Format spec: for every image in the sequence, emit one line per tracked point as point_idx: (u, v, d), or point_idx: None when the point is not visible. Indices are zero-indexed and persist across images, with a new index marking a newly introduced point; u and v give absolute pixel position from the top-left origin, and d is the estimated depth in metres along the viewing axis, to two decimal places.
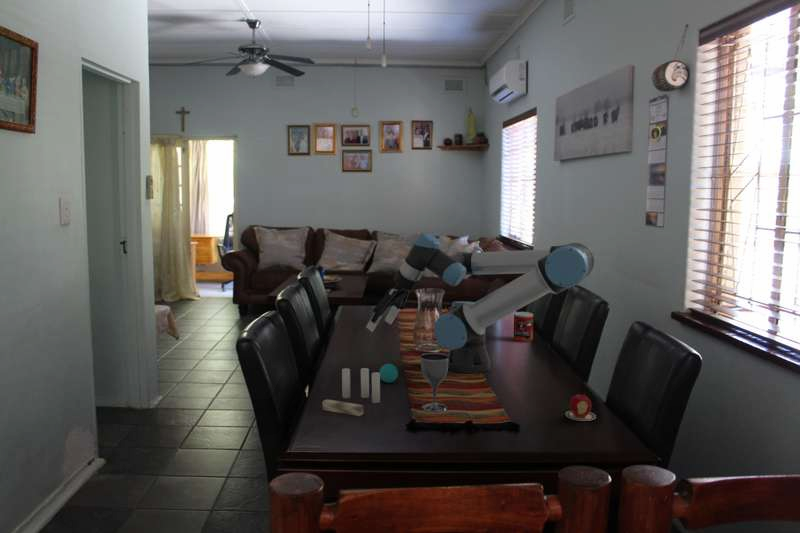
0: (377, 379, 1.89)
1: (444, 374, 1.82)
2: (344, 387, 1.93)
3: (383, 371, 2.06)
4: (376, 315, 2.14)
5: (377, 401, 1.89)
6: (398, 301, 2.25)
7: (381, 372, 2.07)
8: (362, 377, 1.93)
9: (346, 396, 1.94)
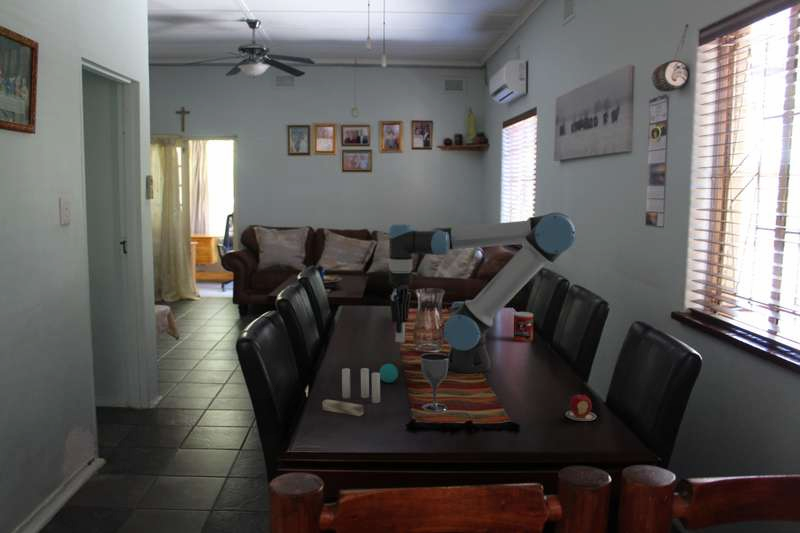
0: (377, 379, 1.89)
1: (444, 374, 1.82)
2: (344, 387, 1.93)
3: (383, 371, 2.06)
4: (398, 324, 2.14)
5: (377, 401, 1.89)
6: None
7: (381, 372, 2.07)
8: (362, 377, 1.93)
9: (346, 396, 1.94)
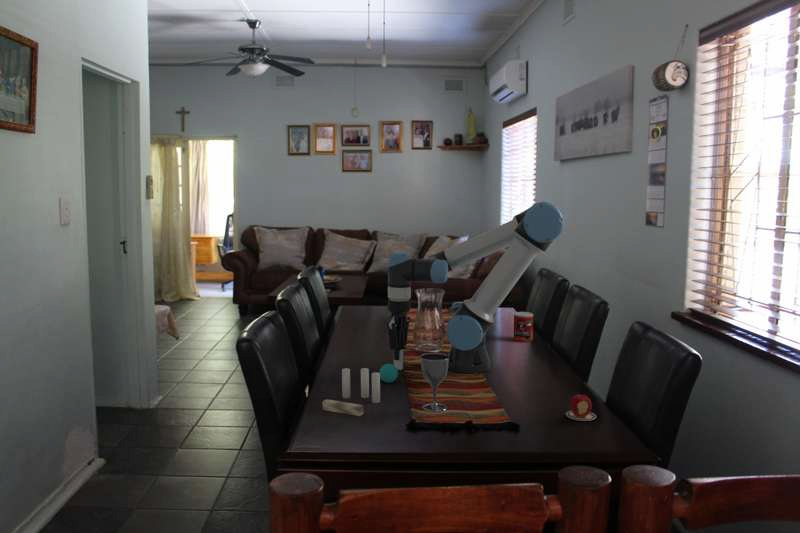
0: (377, 379, 1.89)
1: (444, 374, 1.82)
2: (344, 387, 1.93)
3: (383, 371, 2.06)
4: (396, 351, 2.14)
5: (377, 401, 1.89)
6: None
7: (381, 372, 2.07)
8: (362, 377, 1.93)
9: (346, 396, 1.94)
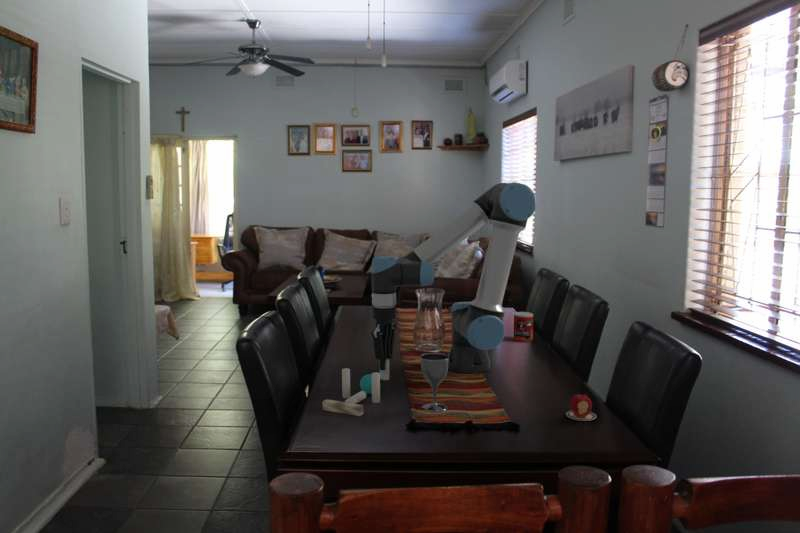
0: (377, 379, 1.89)
1: (444, 374, 1.82)
2: (344, 387, 1.93)
3: None
4: (382, 361, 2.04)
5: (377, 401, 1.89)
6: None
7: None
8: None
9: (346, 396, 1.94)
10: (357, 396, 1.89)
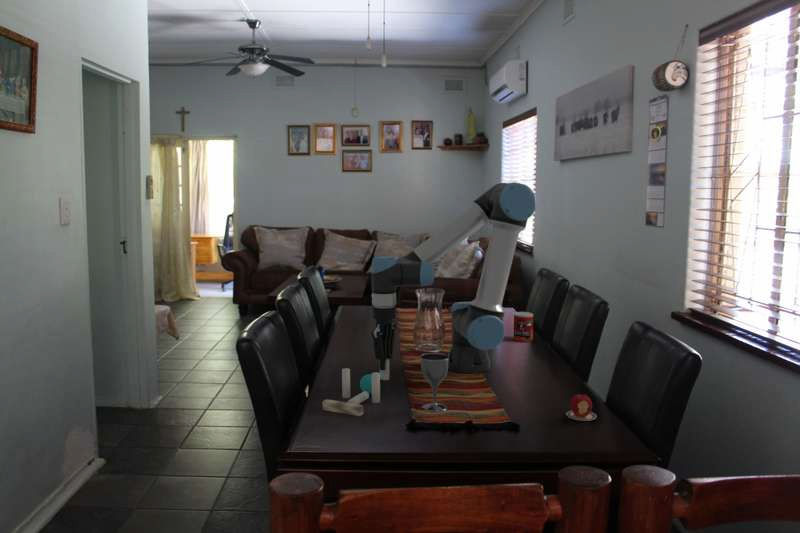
0: (377, 379, 1.89)
1: (444, 374, 1.82)
2: (344, 387, 1.93)
3: None
4: (382, 361, 2.04)
5: (377, 401, 1.89)
6: None
7: None
8: None
9: (346, 396, 1.94)
10: (361, 399, 1.89)
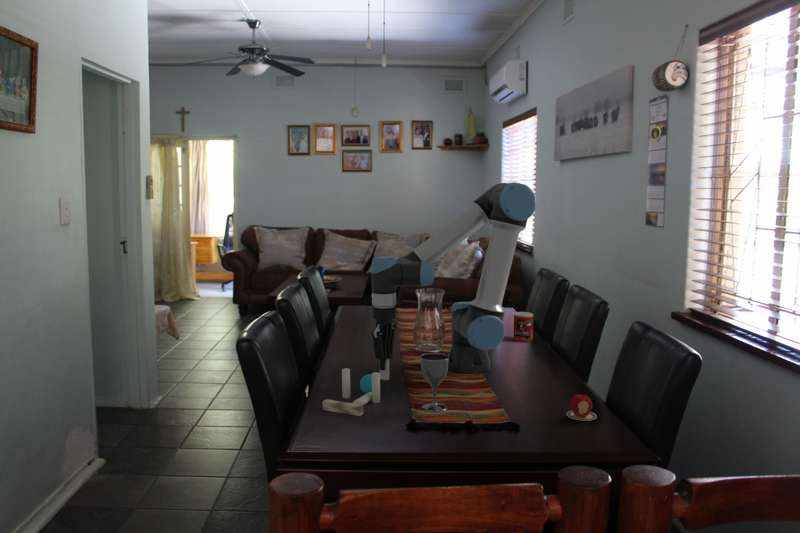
0: (377, 379, 1.89)
1: (444, 374, 1.82)
2: (344, 387, 1.93)
3: None
4: (382, 361, 2.04)
5: (377, 401, 1.89)
6: None
7: None
8: None
9: (346, 396, 1.94)
10: None
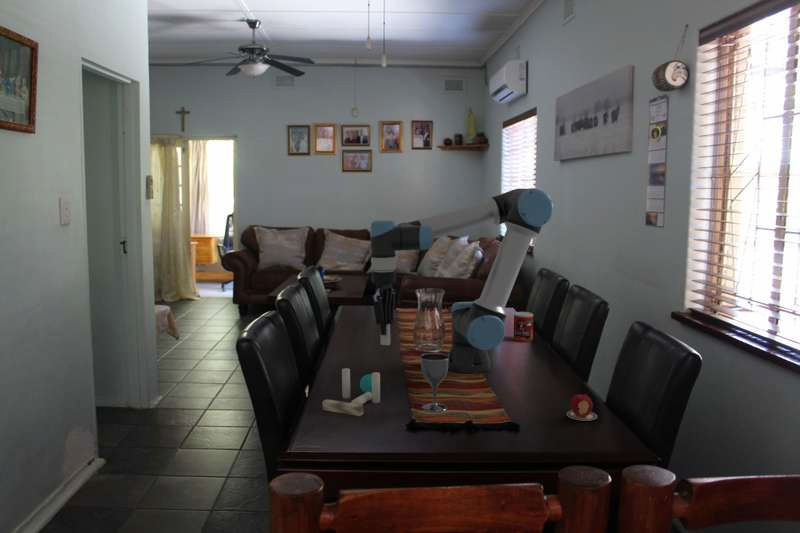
0: (377, 379, 1.89)
1: (444, 374, 1.82)
2: (344, 387, 1.93)
3: None
4: (382, 326, 2.02)
5: (377, 401, 1.89)
6: None
7: None
8: None
9: (346, 396, 1.94)
10: (363, 403, 1.88)
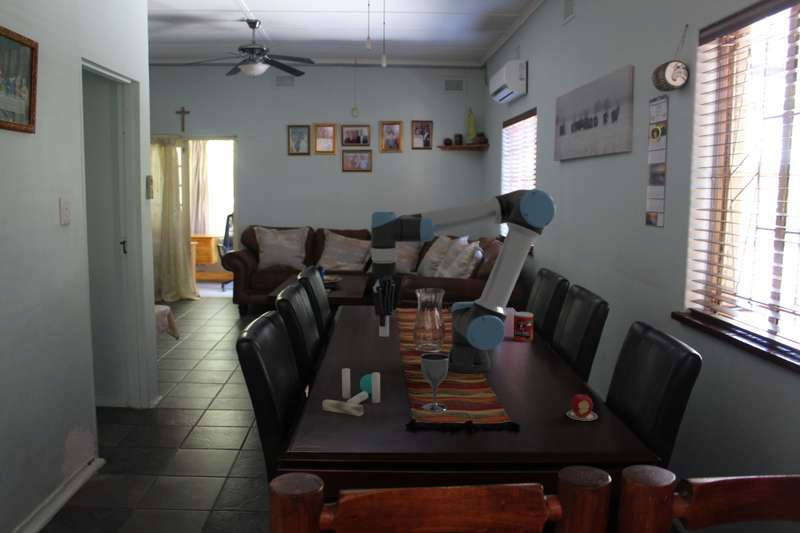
0: (377, 379, 1.89)
1: (444, 374, 1.82)
2: (344, 387, 1.93)
3: None
4: (381, 317, 2.02)
5: (377, 401, 1.89)
6: None
7: None
8: None
9: (346, 396, 1.94)
10: (360, 398, 1.89)
